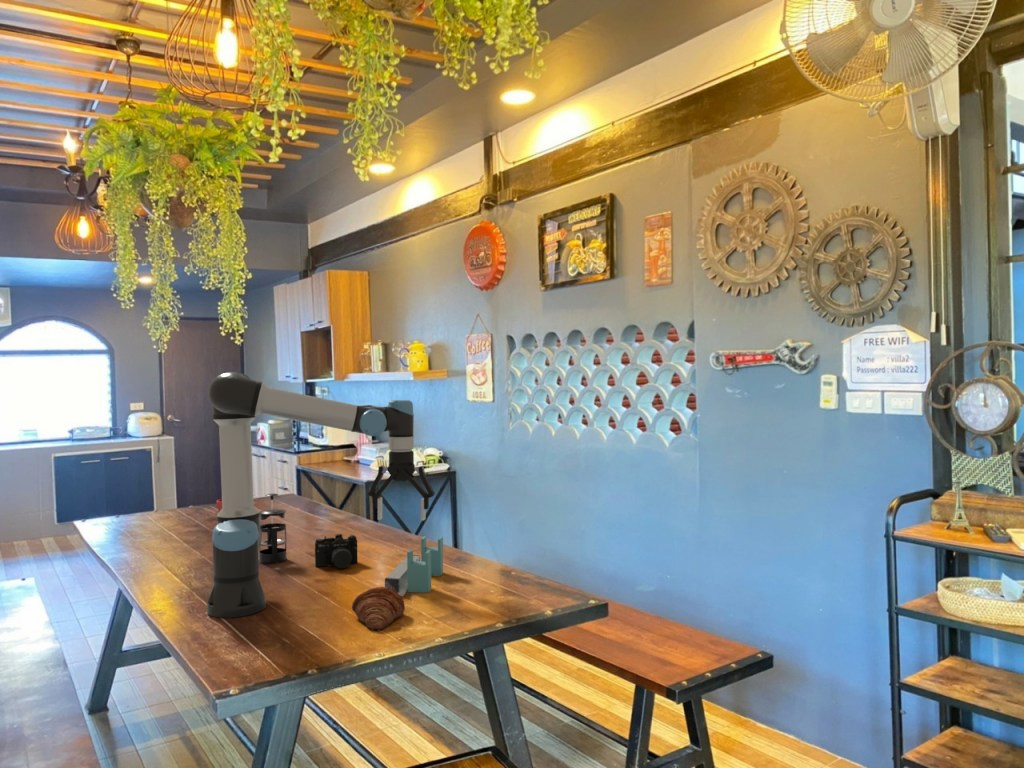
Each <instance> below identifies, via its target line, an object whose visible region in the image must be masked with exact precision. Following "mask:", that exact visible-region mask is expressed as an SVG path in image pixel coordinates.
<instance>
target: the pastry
mask: <svg viewBox="0 0 1024 768" xmlns="http://www.w3.org/2000/svg"><path fill="white" fill-rule="evenodd" d="M402 597H403V596H400V595H399V594H398V593H397V591H395V590H394V589H391V588H388V587H385V586H377V587H372V588H369V589H367V590H366V591H363V592H362V593H360V594H359V595H357V596H356V598H355V599H354V600H353V601H352V606H351V609H352V611H353V612H354V613H355V615H356V616H357V618H358V620H359V621H360V623H362V622H363V623H362V624H364V623H365V624H364V625H366V627H367V628H368V627H369V628H368V629H370V628H371V629H370V630H372V629H376V630H375V631H378V630H380V629H382V630H384V629H385V628H386V627H388V626H390V625H391V624H392V623H393V622H395V621H396V620H399V618H401V617H402V616H403V615H404V613H405V610H406V608H405V607H406V606H405V601H404V599H403V598H402ZM394 620H395V621H394ZM389 624H390V625H389ZM387 625H388V626H387ZM385 626H386V627H385ZM383 628H384V629H383ZM380 631H381V630H380Z"/></svg>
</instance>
